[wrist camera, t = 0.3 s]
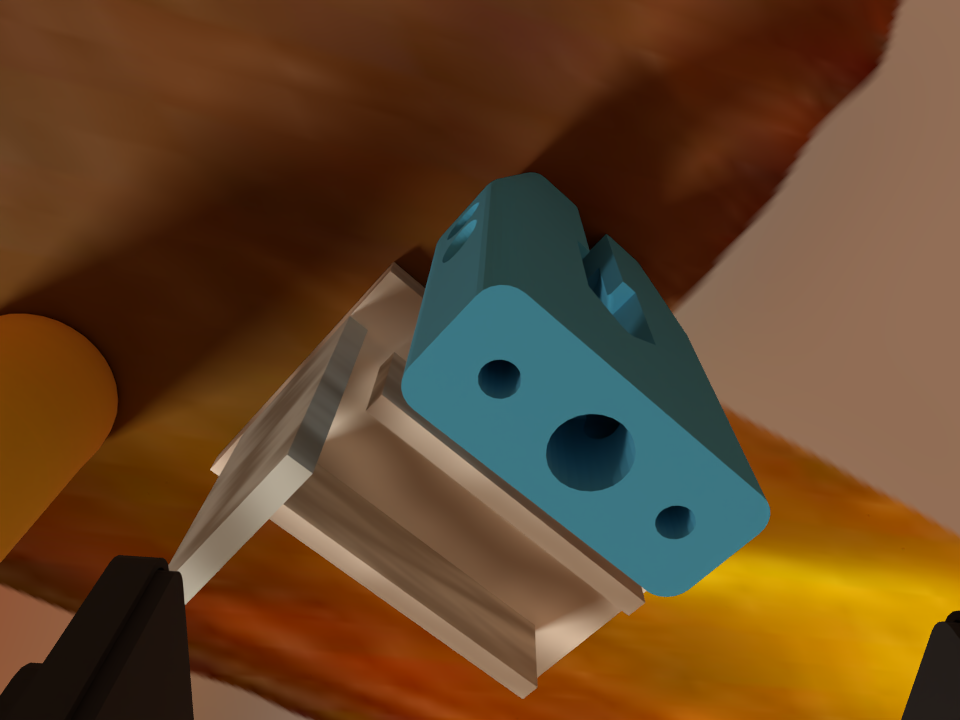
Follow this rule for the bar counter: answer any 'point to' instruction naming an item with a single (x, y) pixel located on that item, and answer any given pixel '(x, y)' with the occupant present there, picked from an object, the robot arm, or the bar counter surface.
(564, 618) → the book stand
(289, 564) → the bar counter surface
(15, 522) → the beer bottle
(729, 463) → the block
